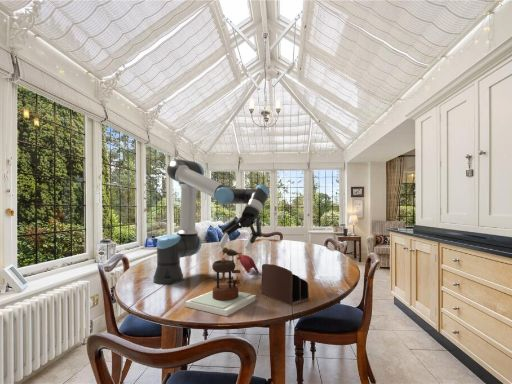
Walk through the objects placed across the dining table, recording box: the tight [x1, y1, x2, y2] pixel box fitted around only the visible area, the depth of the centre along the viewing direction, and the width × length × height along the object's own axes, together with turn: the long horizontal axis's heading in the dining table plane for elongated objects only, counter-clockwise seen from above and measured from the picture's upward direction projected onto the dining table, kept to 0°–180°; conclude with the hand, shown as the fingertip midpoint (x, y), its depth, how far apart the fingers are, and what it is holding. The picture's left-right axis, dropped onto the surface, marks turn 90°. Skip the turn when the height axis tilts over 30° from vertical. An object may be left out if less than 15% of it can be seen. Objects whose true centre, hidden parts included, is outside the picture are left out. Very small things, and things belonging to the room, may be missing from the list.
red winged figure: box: [236, 254, 260, 274], centre depth 171 cm, size 28×9×15 cm
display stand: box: [184, 290, 257, 317], centre depth 119 cm, size 20×20×2 cm
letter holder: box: [260, 263, 310, 306], centre depth 127 cm, size 10×20×14 cm, turn 36°
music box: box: [205, 246, 243, 301], centre depth 119 cm, size 15×11×20 cm
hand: (233, 247), depth 126 cm, fingers open, 13 cm apart
